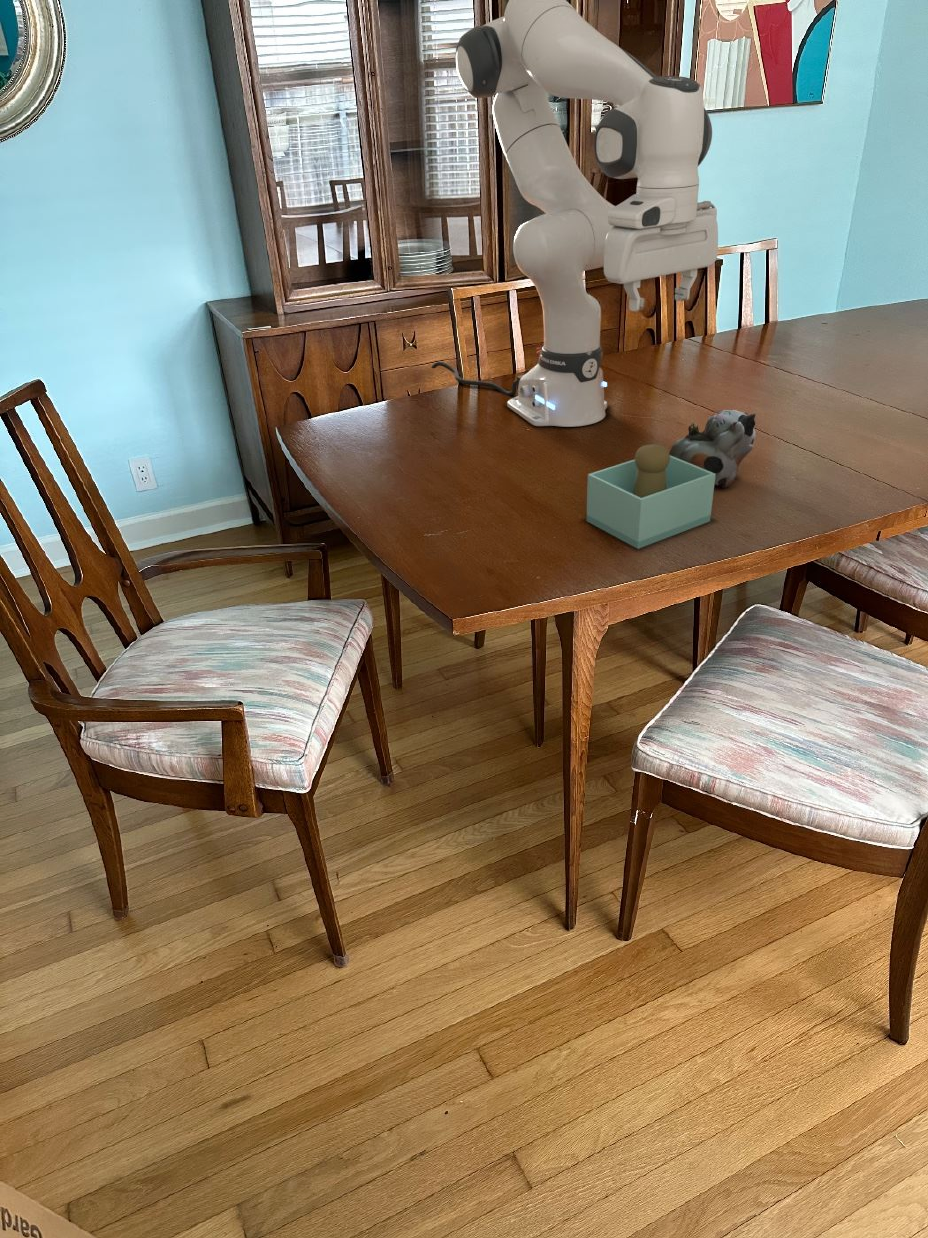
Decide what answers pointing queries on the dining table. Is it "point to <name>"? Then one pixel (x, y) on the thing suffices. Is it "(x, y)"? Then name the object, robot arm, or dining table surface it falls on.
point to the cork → (651, 470)
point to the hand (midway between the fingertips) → (659, 305)
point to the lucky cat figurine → (718, 444)
